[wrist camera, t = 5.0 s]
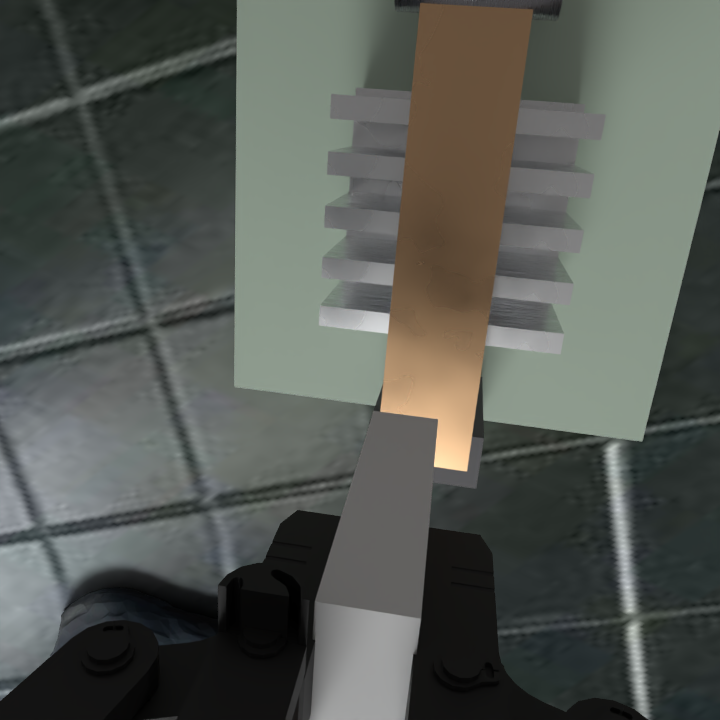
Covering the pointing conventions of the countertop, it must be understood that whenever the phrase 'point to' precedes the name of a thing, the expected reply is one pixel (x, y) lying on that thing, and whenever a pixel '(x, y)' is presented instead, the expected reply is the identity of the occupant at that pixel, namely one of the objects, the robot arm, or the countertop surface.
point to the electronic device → (134, 616)
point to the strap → (454, 207)
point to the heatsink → (519, 229)
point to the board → (595, 215)
